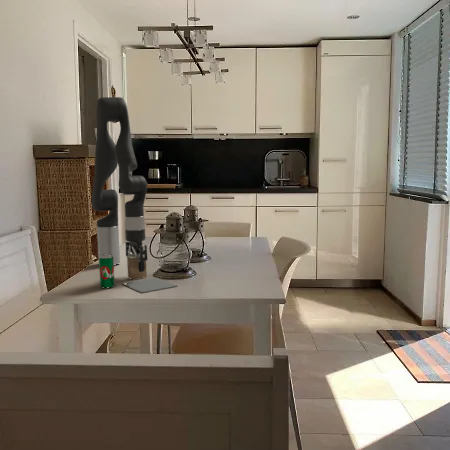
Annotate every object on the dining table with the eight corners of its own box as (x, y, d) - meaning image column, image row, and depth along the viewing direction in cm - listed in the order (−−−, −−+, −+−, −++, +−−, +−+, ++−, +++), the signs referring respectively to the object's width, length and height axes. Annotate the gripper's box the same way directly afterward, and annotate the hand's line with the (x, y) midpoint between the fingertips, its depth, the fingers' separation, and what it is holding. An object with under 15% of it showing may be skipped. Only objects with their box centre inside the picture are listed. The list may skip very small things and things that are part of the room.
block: (128, 278, 186) (127, 255, 185) (142, 276, 190) (141, 253, 189) (132, 280, 183) (131, 256, 182) (146, 277, 186) (145, 255, 185)
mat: (122, 284, 176) (122, 283, 176) (156, 278, 184) (156, 277, 184) (141, 293, 163) (141, 292, 163) (177, 286, 172) (177, 285, 172)
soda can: (108, 284, 176) (107, 252, 175) (117, 286, 173) (116, 254, 172) (97, 287, 172) (95, 254, 171) (106, 289, 169) (104, 256, 168)
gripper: (118, 227, 187) (120, 268, 189) (134, 230, 176) (136, 274, 178) (135, 225, 192) (137, 265, 194) (152, 228, 180) (154, 271, 182)
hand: (136, 269), depth 186 cm, fingers open, 8 cm apart
